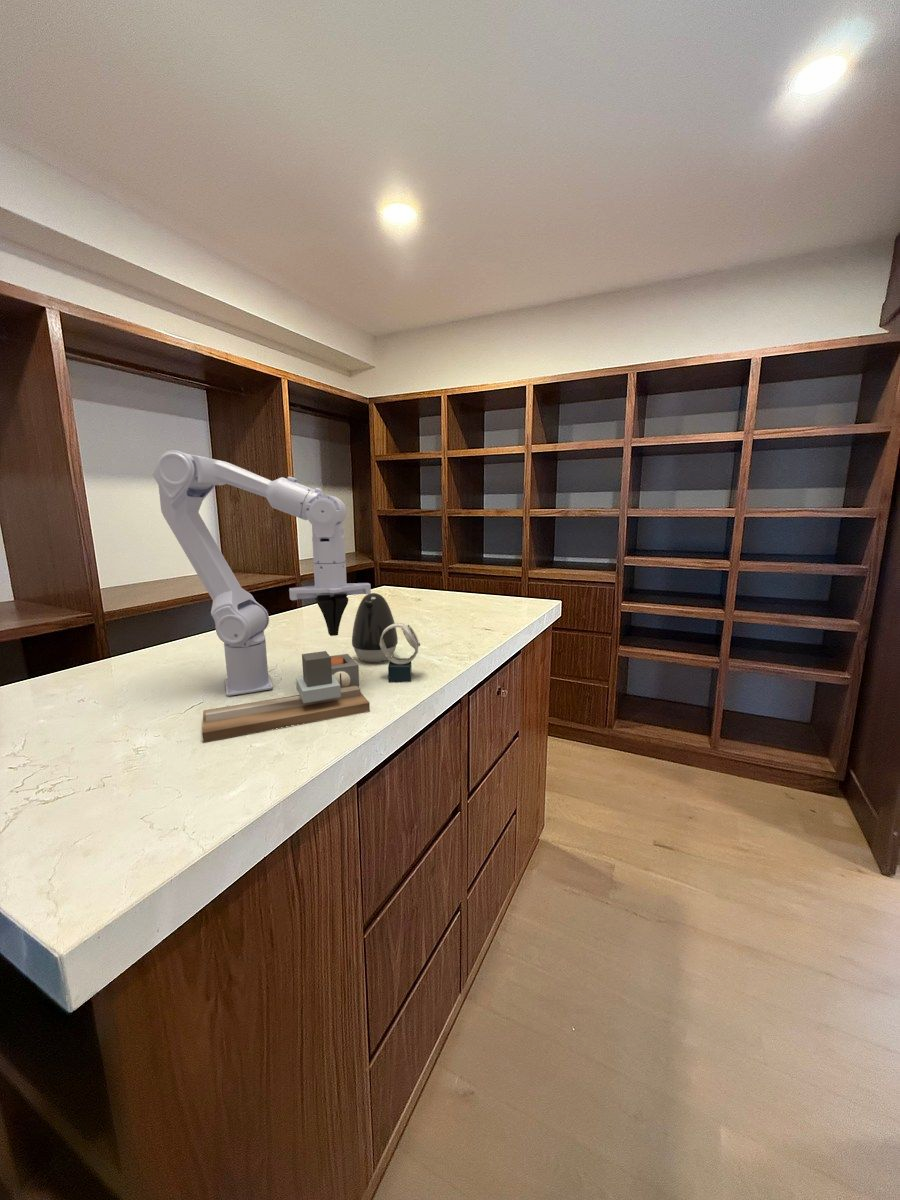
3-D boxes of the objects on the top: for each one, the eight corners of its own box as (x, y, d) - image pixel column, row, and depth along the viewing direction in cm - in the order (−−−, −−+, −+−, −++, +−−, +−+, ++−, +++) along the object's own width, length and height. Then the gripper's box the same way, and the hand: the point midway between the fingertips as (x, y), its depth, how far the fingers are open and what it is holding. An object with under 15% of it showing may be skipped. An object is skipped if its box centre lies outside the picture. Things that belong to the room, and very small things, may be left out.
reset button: (324, 669, 92) (324, 657, 92) (341, 666, 93) (341, 654, 93) (328, 674, 89) (327, 661, 89) (345, 671, 91) (345, 659, 90)
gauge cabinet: (313, 683, 94) (312, 658, 93) (348, 677, 97) (347, 653, 96) (322, 697, 87) (320, 671, 86) (360, 691, 90) (359, 665, 89)
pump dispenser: (345, 665, 105) (342, 596, 102) (361, 651, 115) (359, 588, 112) (390, 667, 103) (388, 597, 100) (403, 653, 113) (401, 589, 110)
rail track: (204, 719, 78) (202, 703, 77) (355, 693, 89) (355, 679, 88) (203, 742, 70) (201, 725, 69) (369, 711, 81) (369, 695, 80)
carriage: (296, 688, 83) (294, 652, 81) (331, 683, 85) (329, 648, 84) (303, 703, 76) (300, 664, 75) (341, 696, 79) (339, 658, 78)
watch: (420, 681, 95) (419, 627, 93) (379, 682, 94) (377, 628, 92) (421, 672, 100) (420, 620, 98) (382, 673, 100) (380, 621, 98)
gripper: (291, 566, 81) (296, 644, 83) (374, 562, 87) (377, 634, 90) (285, 562, 87) (290, 635, 90) (363, 558, 93) (366, 626, 96)
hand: (333, 634), depth 90 cm, fingers closed
